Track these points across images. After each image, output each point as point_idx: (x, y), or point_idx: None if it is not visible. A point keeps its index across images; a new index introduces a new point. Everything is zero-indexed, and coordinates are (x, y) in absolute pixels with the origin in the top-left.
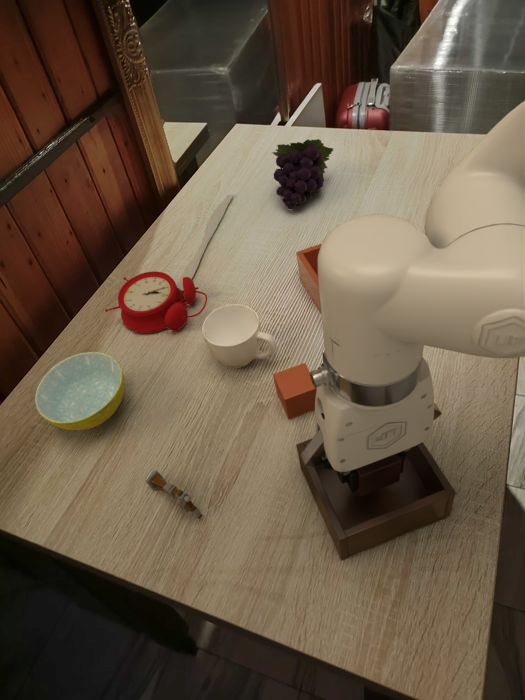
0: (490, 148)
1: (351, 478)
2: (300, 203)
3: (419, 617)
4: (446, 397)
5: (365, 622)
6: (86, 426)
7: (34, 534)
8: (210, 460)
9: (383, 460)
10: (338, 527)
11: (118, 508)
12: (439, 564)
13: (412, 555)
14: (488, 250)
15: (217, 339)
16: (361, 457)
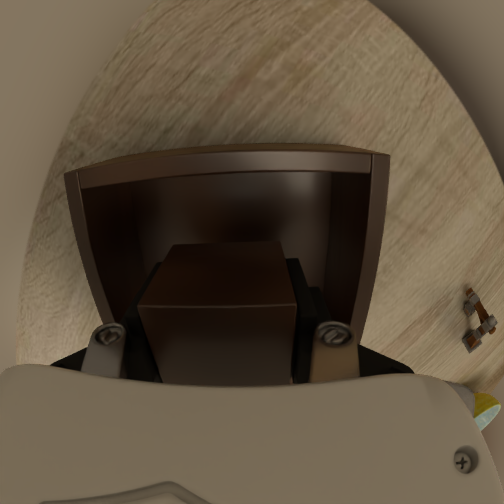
0: None
1: (311, 300)
2: None
3: (253, 16)
4: (78, 334)
5: (343, 43)
6: (484, 399)
7: None
8: (417, 352)
9: (194, 327)
10: (378, 185)
11: (498, 318)
12: (174, 79)
13: (212, 106)
14: None
15: None
16: (361, 474)
